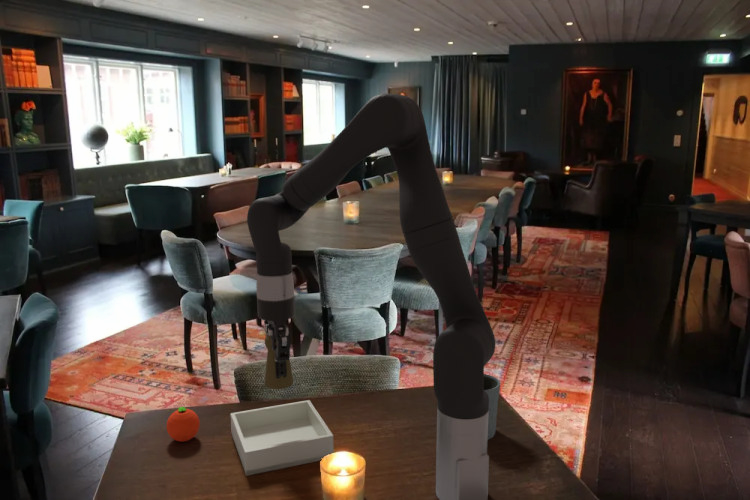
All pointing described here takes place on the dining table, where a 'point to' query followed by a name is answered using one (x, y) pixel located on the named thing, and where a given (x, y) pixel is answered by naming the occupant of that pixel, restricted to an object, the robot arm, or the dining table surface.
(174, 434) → the clementine
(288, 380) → the olive pepper mill
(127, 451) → the dining table surface
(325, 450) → the serving bin
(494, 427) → the grey round pot
